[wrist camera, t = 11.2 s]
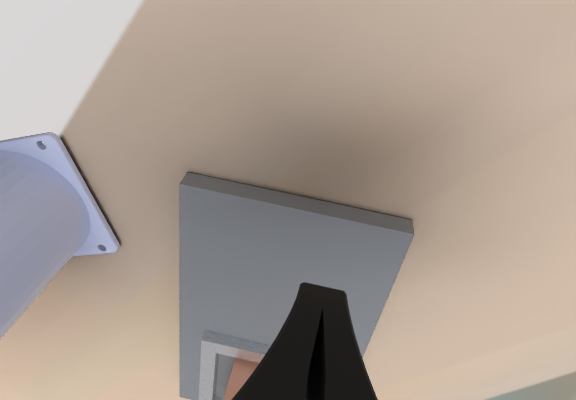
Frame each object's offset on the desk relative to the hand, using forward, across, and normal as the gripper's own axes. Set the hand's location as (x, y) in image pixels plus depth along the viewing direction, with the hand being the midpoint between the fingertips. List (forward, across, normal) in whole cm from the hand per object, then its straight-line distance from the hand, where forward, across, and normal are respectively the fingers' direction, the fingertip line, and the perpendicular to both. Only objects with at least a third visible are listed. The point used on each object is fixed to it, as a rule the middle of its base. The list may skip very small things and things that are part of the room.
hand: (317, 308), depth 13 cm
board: (+9, +2, +12) cm, 16 cm away
